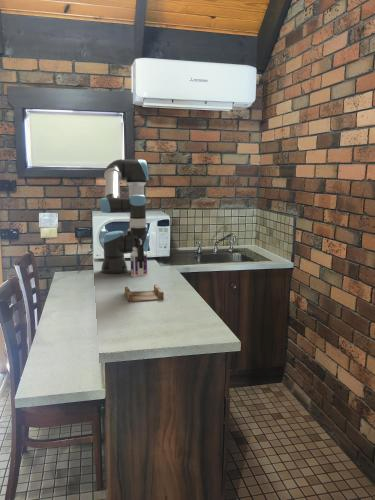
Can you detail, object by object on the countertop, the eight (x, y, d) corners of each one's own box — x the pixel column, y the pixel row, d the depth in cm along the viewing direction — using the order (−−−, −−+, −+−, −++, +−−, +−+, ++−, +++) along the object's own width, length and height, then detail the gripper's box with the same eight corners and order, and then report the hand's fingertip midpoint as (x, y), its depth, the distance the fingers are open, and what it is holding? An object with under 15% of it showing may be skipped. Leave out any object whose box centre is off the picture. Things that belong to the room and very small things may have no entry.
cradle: (124, 293, 206) (124, 286, 206) (156, 291, 211) (156, 284, 210) (129, 302, 193) (129, 295, 192) (163, 299, 198) (163, 292, 197)
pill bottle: (150, 274, 213) (149, 246, 210) (141, 278, 206) (141, 249, 203) (136, 273, 216) (135, 245, 214) (127, 276, 209) (127, 247, 206)
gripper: (127, 224, 215) (128, 268, 220) (134, 230, 196) (135, 277, 200) (141, 223, 217) (142, 267, 222) (150, 229, 198) (150, 276, 202)
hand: (139, 272), depth 211 cm, fingers closed on pill bottle, 8 cm apart
